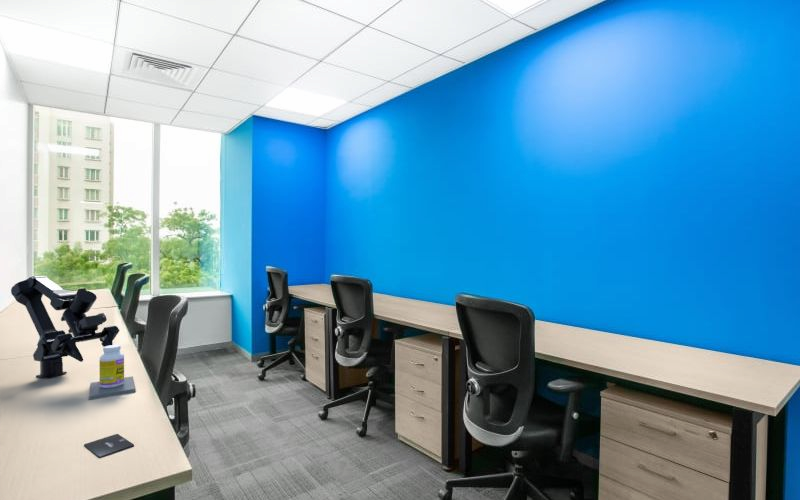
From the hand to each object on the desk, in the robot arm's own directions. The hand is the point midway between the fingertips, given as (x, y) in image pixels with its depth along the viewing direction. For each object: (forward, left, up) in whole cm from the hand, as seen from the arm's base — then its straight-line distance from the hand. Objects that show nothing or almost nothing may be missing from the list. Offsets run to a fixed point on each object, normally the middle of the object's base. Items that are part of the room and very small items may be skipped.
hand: (97, 357), depth 141 cm
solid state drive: (+44, -33, -10) cm, 56 cm away
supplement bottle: (+8, -1, -9) cm, 12 cm away
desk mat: (+8, -1, -9) cm, 12 cm away
